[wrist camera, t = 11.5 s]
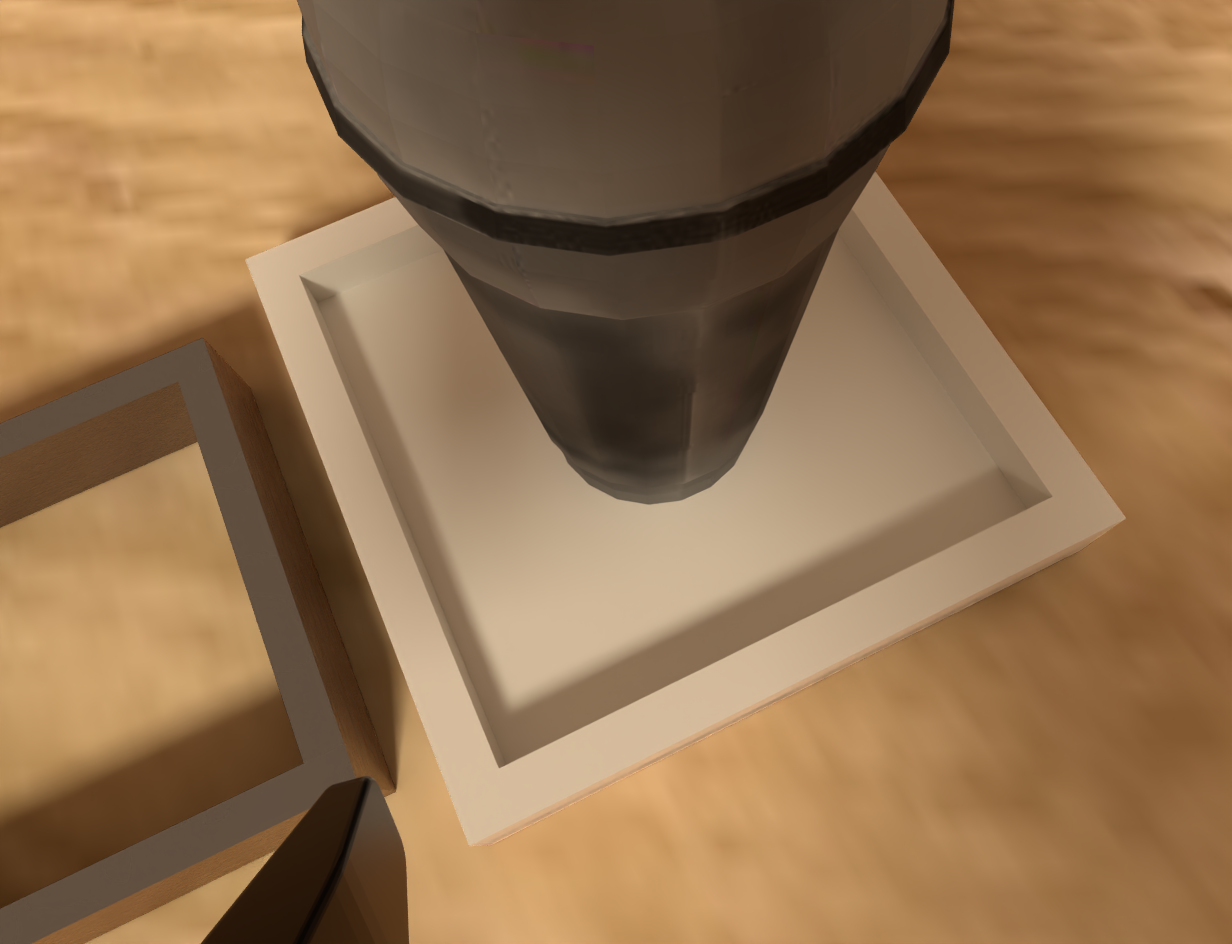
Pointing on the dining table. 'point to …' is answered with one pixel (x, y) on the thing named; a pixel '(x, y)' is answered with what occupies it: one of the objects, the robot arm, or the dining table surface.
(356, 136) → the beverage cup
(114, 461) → the grey-brown square frame
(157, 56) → the dining table surface
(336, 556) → the dining table surface
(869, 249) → the cream white tray
